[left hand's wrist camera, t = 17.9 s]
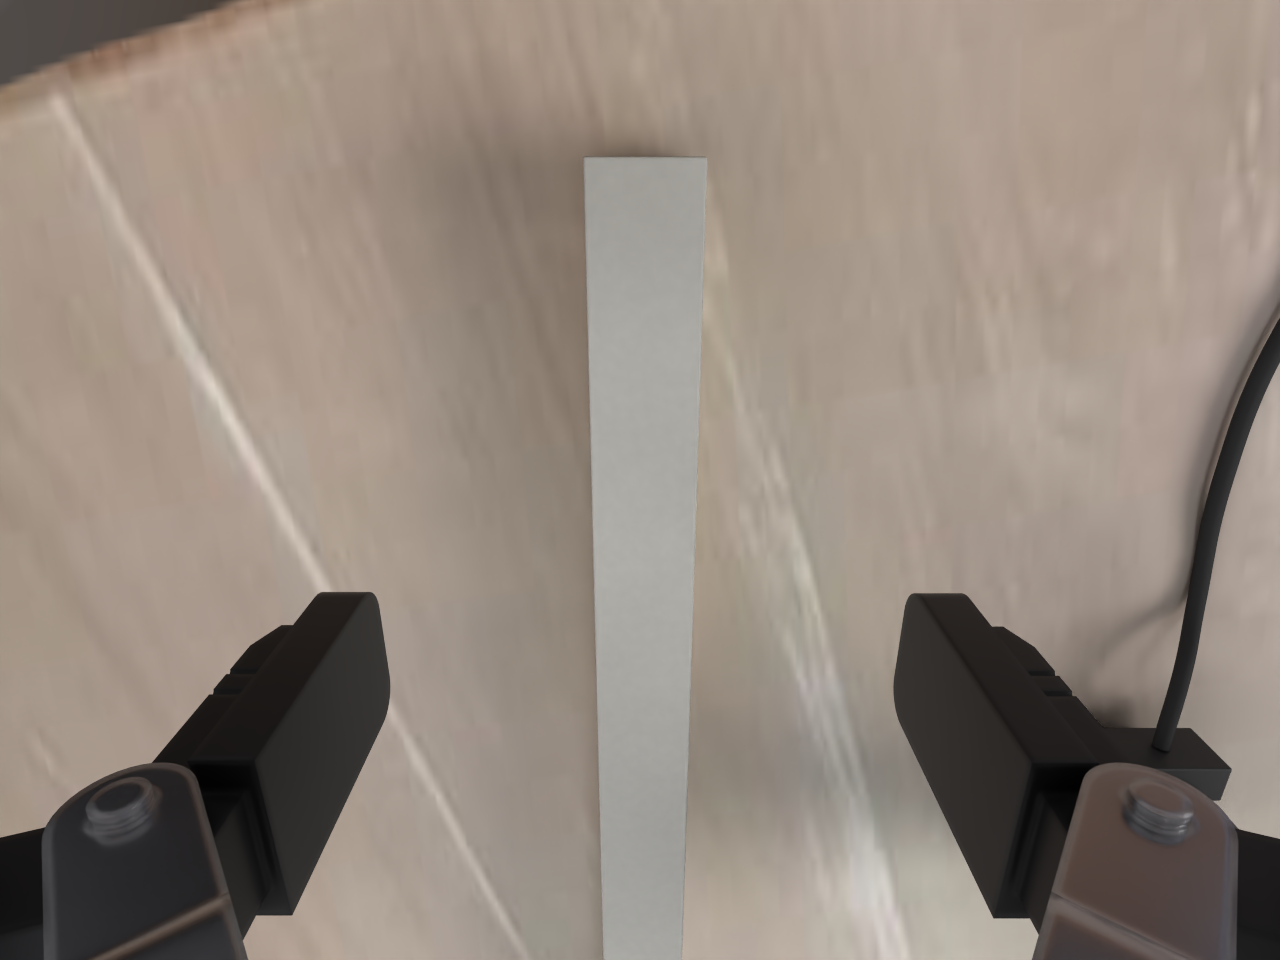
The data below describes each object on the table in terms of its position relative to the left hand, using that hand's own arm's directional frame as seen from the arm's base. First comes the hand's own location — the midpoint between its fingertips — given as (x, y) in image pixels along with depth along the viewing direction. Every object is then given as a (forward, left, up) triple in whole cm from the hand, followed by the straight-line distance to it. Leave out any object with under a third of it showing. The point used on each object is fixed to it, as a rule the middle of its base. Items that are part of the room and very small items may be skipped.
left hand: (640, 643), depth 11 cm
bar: (+30, 0, -26) cm, 39 cm away
